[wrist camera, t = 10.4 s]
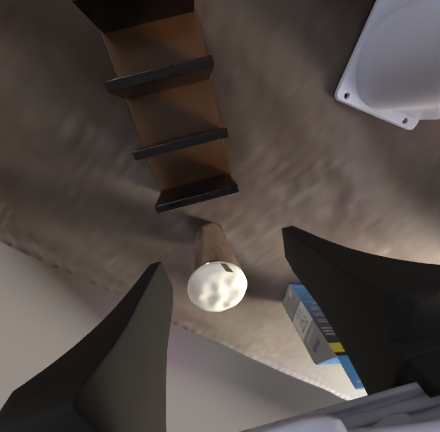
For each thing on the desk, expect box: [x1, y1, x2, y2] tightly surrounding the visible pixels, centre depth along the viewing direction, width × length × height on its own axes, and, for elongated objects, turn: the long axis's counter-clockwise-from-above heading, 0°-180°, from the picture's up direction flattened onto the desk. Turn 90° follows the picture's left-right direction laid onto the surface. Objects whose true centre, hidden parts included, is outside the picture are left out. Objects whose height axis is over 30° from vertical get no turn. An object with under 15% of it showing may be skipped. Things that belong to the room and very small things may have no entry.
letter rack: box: [72, 0, 239, 213], centre depth 15 cm, size 13×7×5 cm, turn 13°
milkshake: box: [187, 223, 247, 312], centre depth 18 cm, size 4×5×10 cm
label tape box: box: [283, 284, 364, 389], centre depth 23 cm, size 9×4×12 cm, turn 80°
